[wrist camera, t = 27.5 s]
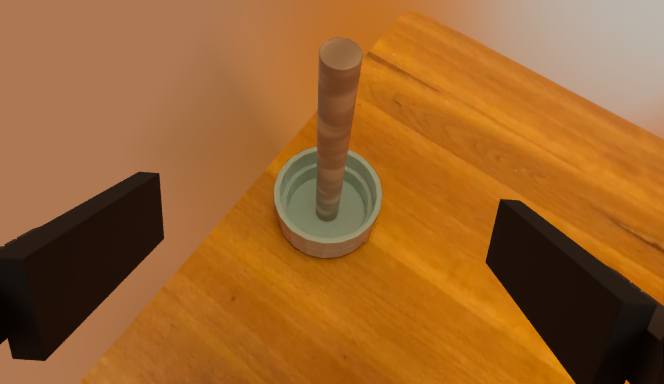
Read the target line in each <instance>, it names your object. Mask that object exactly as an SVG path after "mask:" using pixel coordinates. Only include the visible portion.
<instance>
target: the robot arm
mask: <svg viewBox="0 0 664 384" xmlns="http://www.w3.org/2000/svg"><path fill="white" fill-rule="evenodd" d="M163 239H164V231H163V217H162V204H161V191H160V177H159V173H149V172H138V173H136V174H134V175H132V176H131V177H129V178H127V179H125V180H123V181H122V182H120V183H118V184H116V185H115V186H113V187H111V188H109V189H107V190H106V191H104V192H102V193H100V194H98V195H96V196H95V197H93V198H91V199H89V200H88V201H86V202H84V203H82V204H80V205H79V206H77V207H75V208H73V209H71V210H70V211H68V212H66V213H65V214H62V215H61V216H59V217H57V218H55V219H53V220H52V221H50V222H48V223H46V224H45V225H43V226H41V227H37V228H34V229H32V230H30V231H28V232H26V233H25V234H23V235H21V236H19V237H17V239H14V240H12V241H10V242H8V243H6V244H5V246H1V247H0V344H1V343H2V342H4V341H5V340H6V339H7V338H8V342H9V346H10V350H11V354H12V358H13V359H24V360H38V361H39V360H40V361H45V360H46V359H47V358H48V357H49V356H50V355H51V354H52V353H53V352H54V351H55V350H56V349H57V348H58V347H59V346H60V345H61V344H62V343H63V342H64V341H65V340H66V339H67V338H68V337H69V336H70V335H71V334H72V333H73V332H74V331H75V330H76V328H77V327H79V326H80V324H81V323H82V322H83V321H84V320H85V319H86V318H87V317H88V316H89V315H90V314H91V313H92V312H93V311H94V310H95V309H96V308H97V307H98V306H99V305H100V304H101V303H102V302H103V301H104V300H105V299H106V298H107V297H108V296H109V295H110V294H111V293H112V292H113V291H114V290H115V289H116V287H117V286H118V285H119V284H120V283H121V282H122V281H123V280H124V279H125V278H126V277H127V276H128V275H129V274H130V273H131V272H132V271H133V270H134V269H135V268H136V267H137V266H138V265H139V264H140V263H141V262H142V261H143V260H144V259H145V257H147V256H148V255H149V254H150V252H152V251H153V249H154V248H155V247H156V246H157V245H158V244H159V243H160V242H161V241H162V240H163ZM486 264H487V265H488V266H489V268H490V269H491V270H492V272H493V273H494V274H495V276H496V277H497V278H498V280H499V281H500V282H501V284H502V285H503V286H504V288H505V289H506V290H507V292H508V293H509V294H510V296H511V297H512V298H513V300H514V301H515V302H516V304H517V305H518V307H519V308H520V309H521V311H522V312H523V313H524V315H525V316H526V317H527V319H528V320H529V321H530V323H531V324H532V325H533V327H534V328H535V329H536V331H537V332H538V333H539V335H540V336H541V337H542V339H543V340H544V341H545V343H546V344H547V345H548V347H549V348H550V349H551V351H552V352H553V354H554V355H555V356H556V358H557V359H558V360H559V362H560V363H561V364H562V366H563V367H564V368H565V370H566V371H567V372H568V374H569V375H570V376H571V378H572V379H573V380H574V382H575V383H576V384H624V383H625V381H626V380H627V381H628V382H629V383H630V384H664V306H663V305H661V304H660V303H659V302H657V301H656V300H655V299H653V298H652V297H651V296H649V295H648V294H647V293H645V292H644V291H641V289H640V288H639V287H637V286H636V285H635V284H633V283H630V281H629V280H628V279H627V278H625V277H624V276H623V275H621V274H620V273H619V272H617V271H616V270H614V269H612V268H610V267H608V266H606V265H604V264H603V263H602V262H600V261H599V260H598V259H596V258H595V257H594V256H592V255H591V254H590V253H588V252H587V251H586V250H585V249H583V248H582V247H581V246H579V245H578V244H577V243H575V242H574V241H573V240H571V239H570V238H569V237H567V236H566V235H565V234H563V233H562V232H561V231H559V230H558V229H557V228H555V227H554V226H553V225H551V224H550V223H549V222H548V221H546V220H545V219H544V218H542V217H541V216H540V215H538V214H537V213H536V212H534V211H533V210H532V209H530V208H529V207H528V206H526V205H525V204H524V203H522V202H521V201H518V200H505V199H500V203H499V207H498V211H497V215H496V220H495V224H494V228H493V232H492V237H491V241H490V245H489V249H488V254H487V258H486Z"/></svg>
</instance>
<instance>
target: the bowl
mask: <svg viewBox="0 0 664 384" xmlns="http://www.w3.org/2000/svg"><path fill="white" fill-rule="evenodd" d="M316 177H317V147H313V148H310V149H307V150H304V151H301V152H299V153H298V154H297V155H295V156H294V157H292V158H291V159H289V160H288V161H287V163H286V164H285V165H284V167H283V168H282V169H281V170H280V172H279V174H278V177H277V179H276V182H275V185H274V203H275V208H276V212H277V217H278V221H279V224H280V227H281V229H282V232H283V234H284V236H285V237H286V238H287V239H288V240H289V242H290V243H291V244H292V245H293V246H294V247H295V248H297V249H299V250H300V251H302V252H304V253H305V254H307V255H311V256H315V257H319V258H335V257H340V256H343V255H345V254H348V253H350V252H353V251H354V250H355V249H357V248H358V247H359V246H360V245H361V244H363V243H364V242H365V241H366V239H367V237H368V236H369V234H370V232H371V231H372V229H373V226H374V224H375V221H376V219H377V216H378V214H379V212H380V207H381V202H382V190H381V183H380V180H379V178H378V176H377V174H376V172H375V170H374V168H373V167H372V166H371V165H370V164H369V163H368V162H367V161H366V160H365V159H364V158H363V157H362V156H360V155H358V154H356V153H354V152H352V151H351V150H349V149H348V153H347V159H346V166H345V172H344V179H343V185H342V191H341V198H340V204H339V210H338V215H337V217H336V218H335V219H334V220H332V221H329V222H325V221H322V220H320V219H319V218H318V217H317V215H316Z"/></svg>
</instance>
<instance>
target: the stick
mask: <svg viewBox="0 0 664 384" xmlns="http://www.w3.org/2000/svg"><path fill="white" fill-rule="evenodd" d="M362 57H363V54H362V50H361V48H360V46H359V45H358V44H357V43H355V42H354V41H352V40H350V39H347V38H332V39H330V40H328V41H326V42H324V43H323V44H322V46H321V47H320V50H319V79H318V81H319V82H318V128H317V177H316V215H317V217H318V218H319V219H320V220H322V221H325V222H329V221H332V220H334V219H335V218H336V217H337V215H338V210H339V204H340V198H341V191H342V185H343V179H344V172H345V166H346V159H347V153H348V147H349V140H350V134H351V127H352V121H353V115H354V108H355V102H356V96H357V89H358V83H359V76H360V70H361V64H362Z"/></svg>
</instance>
